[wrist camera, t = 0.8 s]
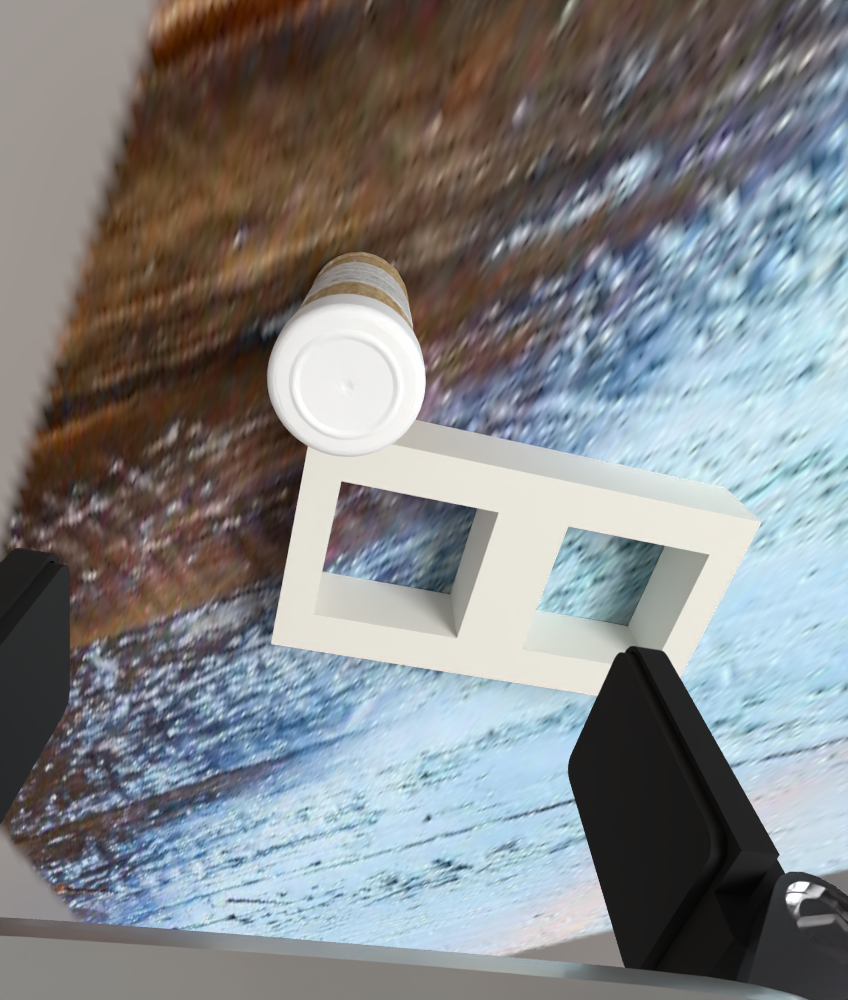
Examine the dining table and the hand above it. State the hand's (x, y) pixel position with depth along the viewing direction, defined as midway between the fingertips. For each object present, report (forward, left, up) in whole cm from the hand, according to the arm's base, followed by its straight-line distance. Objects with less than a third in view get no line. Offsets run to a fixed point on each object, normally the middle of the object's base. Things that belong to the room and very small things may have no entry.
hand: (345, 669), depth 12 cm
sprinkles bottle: (-2, -1, -23) cm, 23 cm away
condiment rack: (+9, +9, -23) cm, 26 cm away
